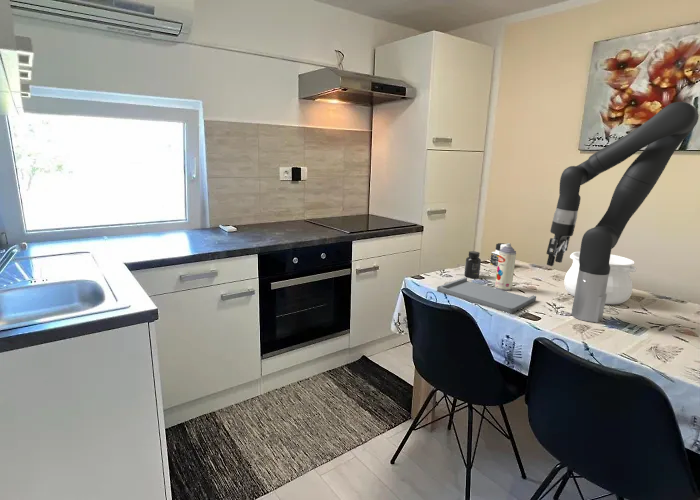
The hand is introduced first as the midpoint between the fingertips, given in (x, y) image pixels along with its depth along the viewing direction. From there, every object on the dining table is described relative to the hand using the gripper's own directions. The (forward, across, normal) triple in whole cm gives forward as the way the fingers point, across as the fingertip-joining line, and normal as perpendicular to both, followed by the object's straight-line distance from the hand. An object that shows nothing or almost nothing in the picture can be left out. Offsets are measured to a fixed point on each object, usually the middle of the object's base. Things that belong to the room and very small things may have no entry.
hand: (554, 263), depth 151 cm
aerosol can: (+19, +8, +20) cm, 29 cm away
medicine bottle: (+20, +44, +39) cm, 62 cm away
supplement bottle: (+20, +13, +38) cm, 45 cm away
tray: (+19, -8, +20) cm, 29 cm away
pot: (+17, +30, -10) cm, 36 cm away
